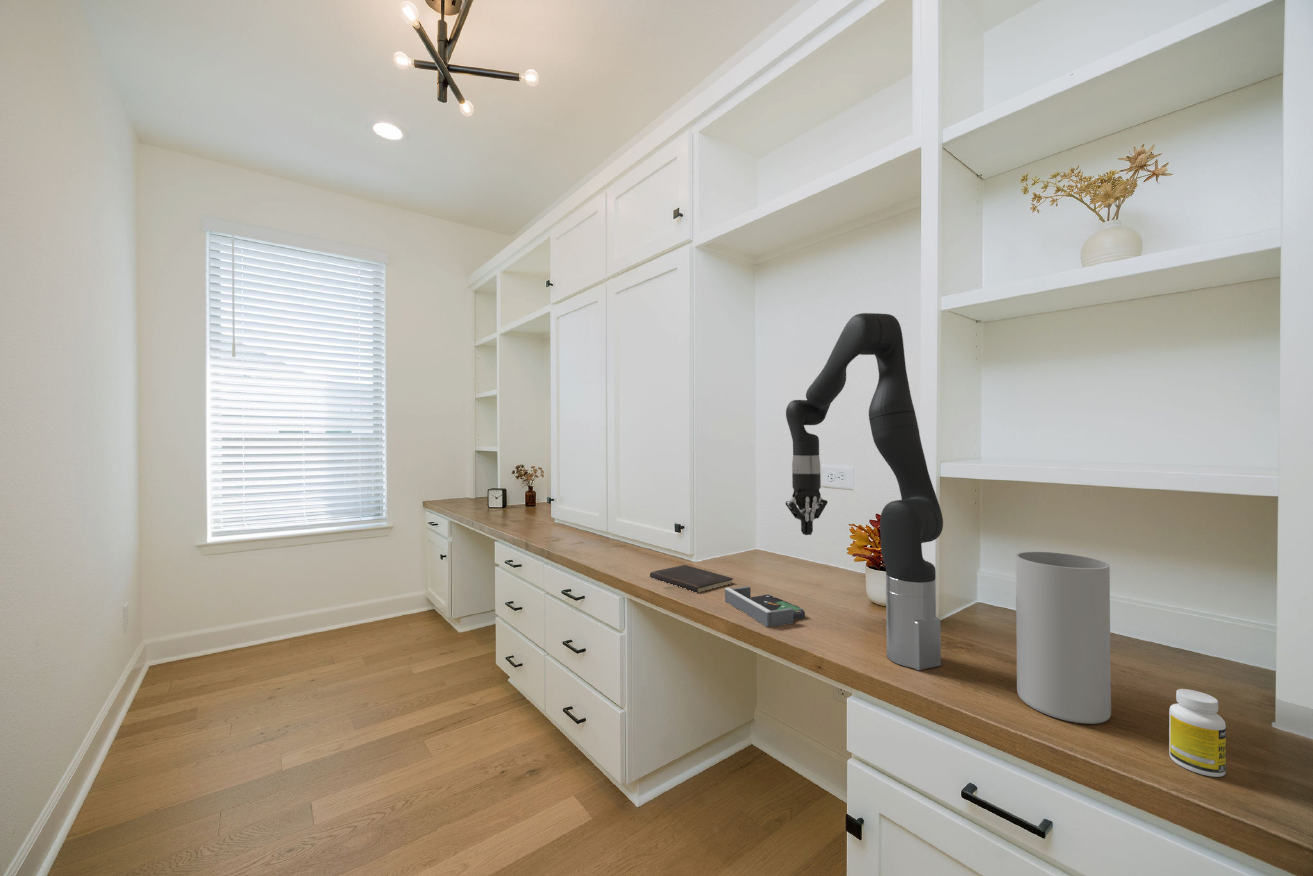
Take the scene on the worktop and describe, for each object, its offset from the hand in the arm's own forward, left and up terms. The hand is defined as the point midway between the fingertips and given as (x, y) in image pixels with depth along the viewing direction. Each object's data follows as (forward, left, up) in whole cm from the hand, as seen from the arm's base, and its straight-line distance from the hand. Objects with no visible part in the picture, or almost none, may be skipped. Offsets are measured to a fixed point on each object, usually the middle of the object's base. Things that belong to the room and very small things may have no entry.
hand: (807, 534), depth 139 cm
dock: (+1, +16, -20) cm, 25 cm away
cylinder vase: (-59, -7, -20) cm, 63 cm away
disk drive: (-1, +12, -20) cm, 24 cm away
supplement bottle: (-76, -7, -20) cm, 79 cm away
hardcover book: (+35, +20, -21) cm, 45 cm away
